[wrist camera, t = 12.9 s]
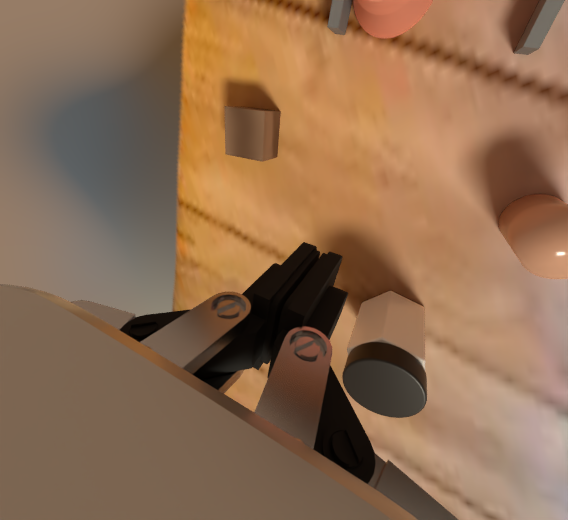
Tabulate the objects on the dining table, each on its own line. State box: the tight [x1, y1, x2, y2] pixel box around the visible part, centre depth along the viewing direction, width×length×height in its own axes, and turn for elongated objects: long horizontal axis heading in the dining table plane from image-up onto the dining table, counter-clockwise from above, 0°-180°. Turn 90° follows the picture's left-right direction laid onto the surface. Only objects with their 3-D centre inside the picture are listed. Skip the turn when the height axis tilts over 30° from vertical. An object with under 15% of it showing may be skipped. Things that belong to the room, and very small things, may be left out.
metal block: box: [225, 106, 281, 161], centre depth 31 cm, size 5×5×4 cm
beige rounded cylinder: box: [499, 194, 568, 279], centre depth 23 cm, size 5×5×7 cm
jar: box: [343, 291, 427, 418], centre depth 32 cm, size 9×8×12 cm
